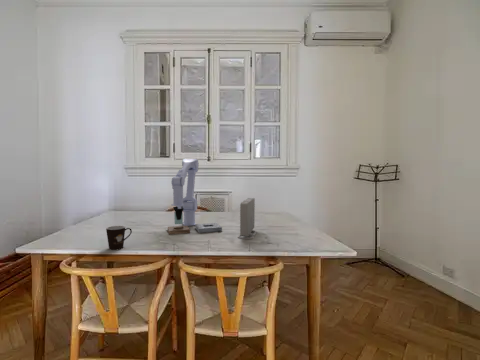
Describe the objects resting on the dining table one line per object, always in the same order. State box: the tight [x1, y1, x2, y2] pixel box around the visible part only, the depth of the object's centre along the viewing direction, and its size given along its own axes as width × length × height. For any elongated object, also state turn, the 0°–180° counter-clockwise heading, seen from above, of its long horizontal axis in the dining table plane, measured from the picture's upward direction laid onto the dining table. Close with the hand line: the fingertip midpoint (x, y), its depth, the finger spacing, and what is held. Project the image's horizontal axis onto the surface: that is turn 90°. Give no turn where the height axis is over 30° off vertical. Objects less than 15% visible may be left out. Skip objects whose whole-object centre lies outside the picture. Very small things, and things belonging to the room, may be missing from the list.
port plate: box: [194, 222, 223, 234], centre depth 186 cm, size 14×14×2 cm
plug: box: [173, 211, 184, 225], centre depth 181 cm, size 3×4×7 cm
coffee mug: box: [105, 225, 132, 251], centre depth 146 cm, size 12×9×10 cm
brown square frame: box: [167, 225, 191, 235], centre depth 181 cm, size 12×12×2 cm
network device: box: [237, 197, 258, 240], centre depth 173 cm, size 26×9×20 cm, turn 168°
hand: (178, 219), depth 181 cm, fingers closed on plug, 3 cm apart
